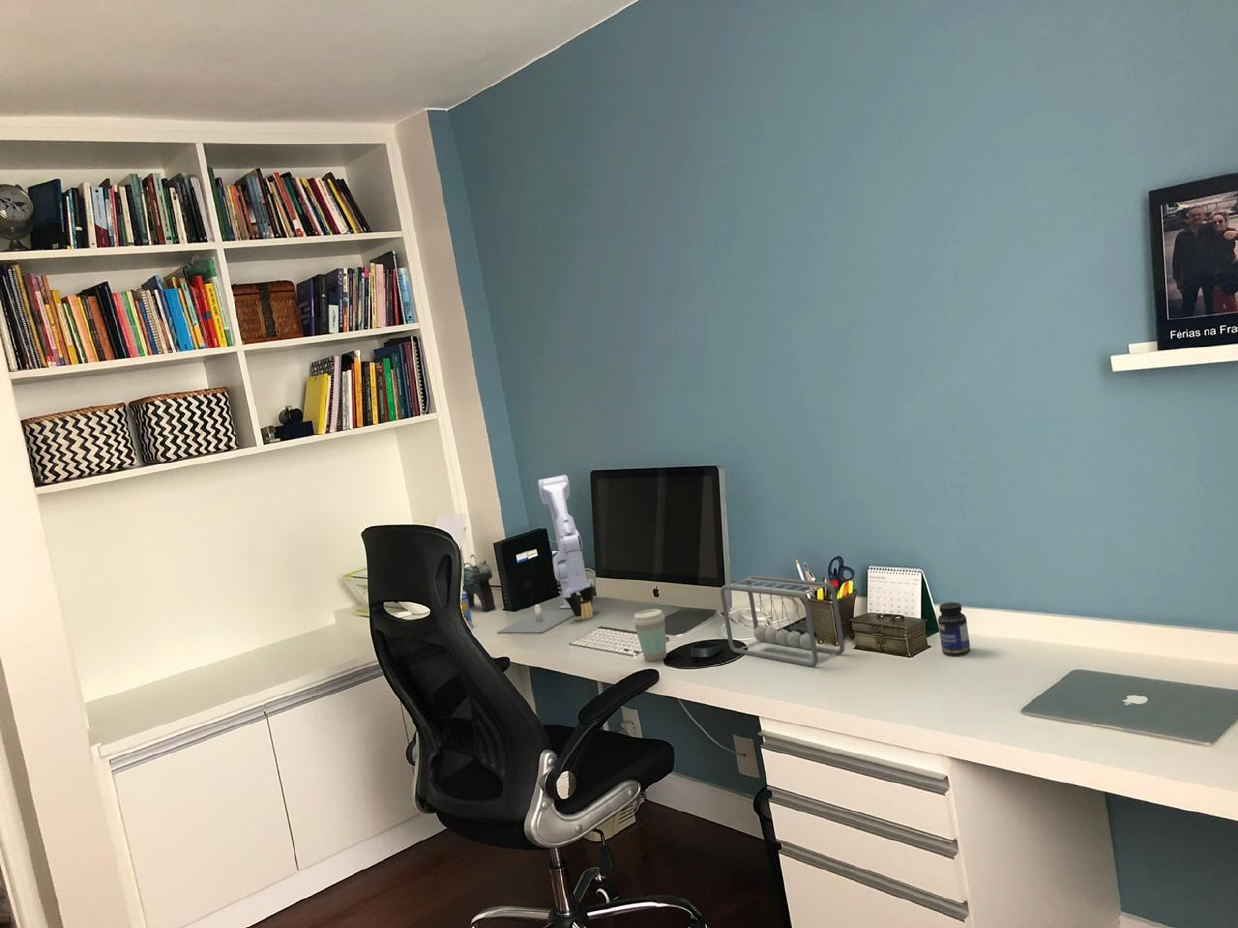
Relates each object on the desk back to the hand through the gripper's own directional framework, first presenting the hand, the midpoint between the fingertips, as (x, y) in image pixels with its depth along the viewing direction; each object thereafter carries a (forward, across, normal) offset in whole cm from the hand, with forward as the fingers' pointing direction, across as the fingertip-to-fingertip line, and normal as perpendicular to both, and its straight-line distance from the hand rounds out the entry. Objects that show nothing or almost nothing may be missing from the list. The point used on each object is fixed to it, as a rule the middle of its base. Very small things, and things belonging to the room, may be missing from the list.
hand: (583, 613), depth 316 cm
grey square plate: (+1, -5, +14) cm, 15 cm away
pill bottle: (+2, -30, -123) cm, 127 cm away
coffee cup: (+2, -36, -47) cm, 59 cm away
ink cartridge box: (+2, -12, +43) cm, 45 cm away
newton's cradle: (+2, -32, -82) cm, 88 cm away
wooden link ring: (+1, 0, 0) cm, 1 cm away
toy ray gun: (+2, +12, +54) cm, 55 cm away
